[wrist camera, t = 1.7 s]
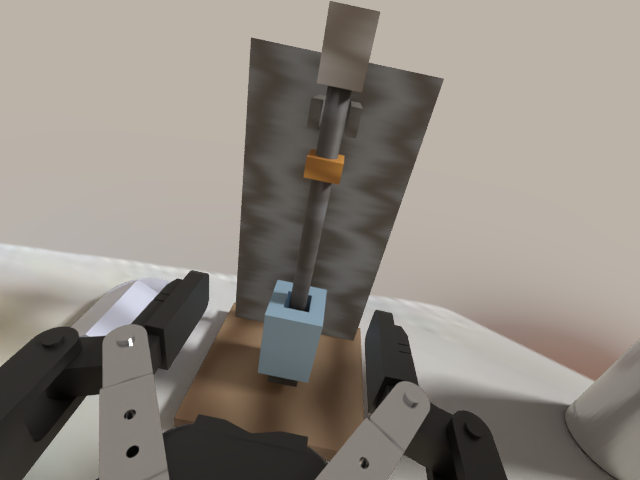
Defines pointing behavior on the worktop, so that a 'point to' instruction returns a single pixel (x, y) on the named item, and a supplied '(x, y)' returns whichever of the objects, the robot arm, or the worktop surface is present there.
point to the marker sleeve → (291, 334)
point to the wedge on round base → (118, 307)
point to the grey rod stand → (314, 223)
